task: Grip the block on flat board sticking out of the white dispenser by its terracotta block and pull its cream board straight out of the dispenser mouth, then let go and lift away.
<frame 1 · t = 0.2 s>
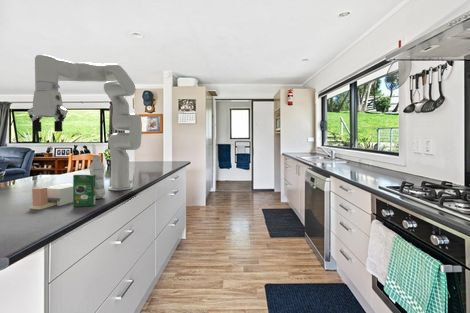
hand: (47, 131, 109), 31 cm above the worktop, tool pointing down, fingers open, 9 cm apart
block on flat board: (54, 194, 117), point 4 cm above the worktop, slide at 0.0 cm
plastic bottle: (97, 199, 128), on the worktop
coffee box: (84, 206, 114), on the worktop
dispenser: (63, 201, 121), on the worktop
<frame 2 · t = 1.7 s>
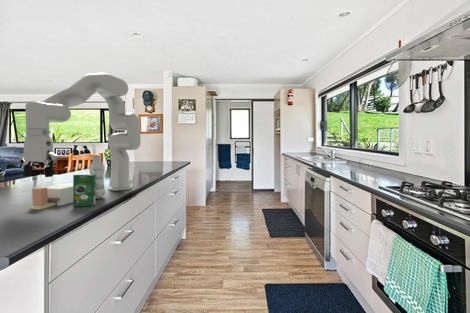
hand: (38, 176, 109), 13 cm above the worktop, tool pointing down, fingers open, 9 cm apart
nothing on the worktop moved.
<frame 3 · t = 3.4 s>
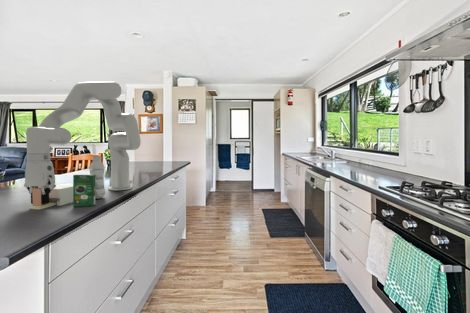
hand: (40, 203, 110), 2 cm above the worktop, tool pointing down, fingers closed on block on flat board, 4 cm apart
block on flat board: (54, 194, 117), point 4 cm above the worktop, slide at 0.0 cm, touching gripper
everything else where it was.
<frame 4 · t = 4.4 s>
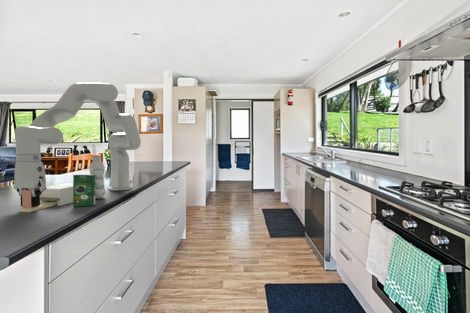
hand: (30, 205, 106), 2 cm above the worktop, tool pointing down, fingers closed on block on flat board, 4 cm apart
block on flat board: (45, 196, 113), point 4 cm above the worktop, slide at 4.3 cm, touching gripper
everything else where it was.
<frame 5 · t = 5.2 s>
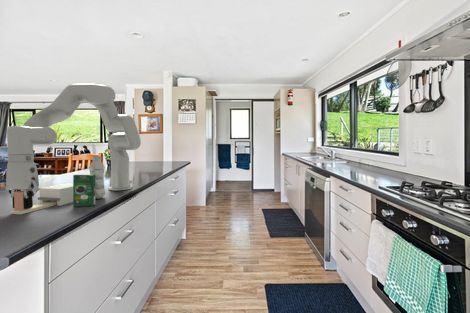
hand: (22, 207, 103), 2 cm above the worktop, tool pointing down, fingers closed on block on flat board, 4 cm apart
block on flat board: (39, 198, 109), point 4 cm above the worktop, slide at 7.4 cm, touching gripper
everything else where it was.
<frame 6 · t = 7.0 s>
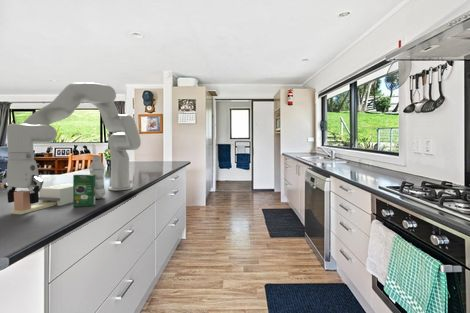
hand: (23, 202, 103), 4 cm above the worktop, tool pointing down, fingers open, 9 cm apart
block on flat board: (39, 198, 109), point 4 cm above the worktop, slide at 7.4 cm
everything else where it was.
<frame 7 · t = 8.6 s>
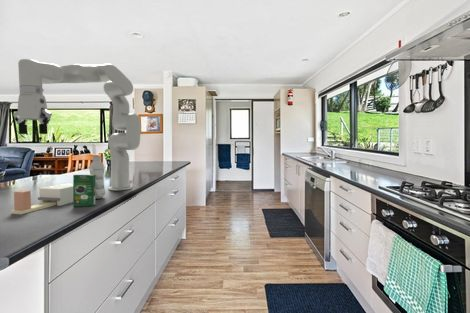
hand: (33, 134, 112), 30 cm above the worktop, tool pointing down, fingers open, 9 cm apart
nothing on the worktop moved.
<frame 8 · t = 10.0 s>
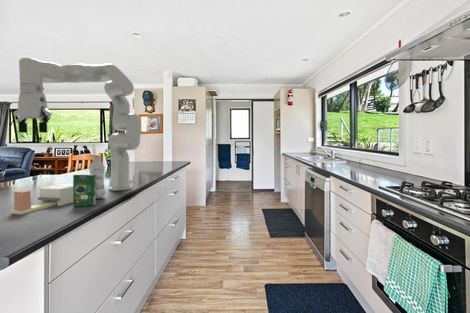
hand: (33, 132, 112), 30 cm above the worktop, tool pointing down, fingers open, 9 cm apart
nothing on the worktop moved.
at the end: block on flat board slide at 7.4 cm; the gripper is holding nothing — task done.
